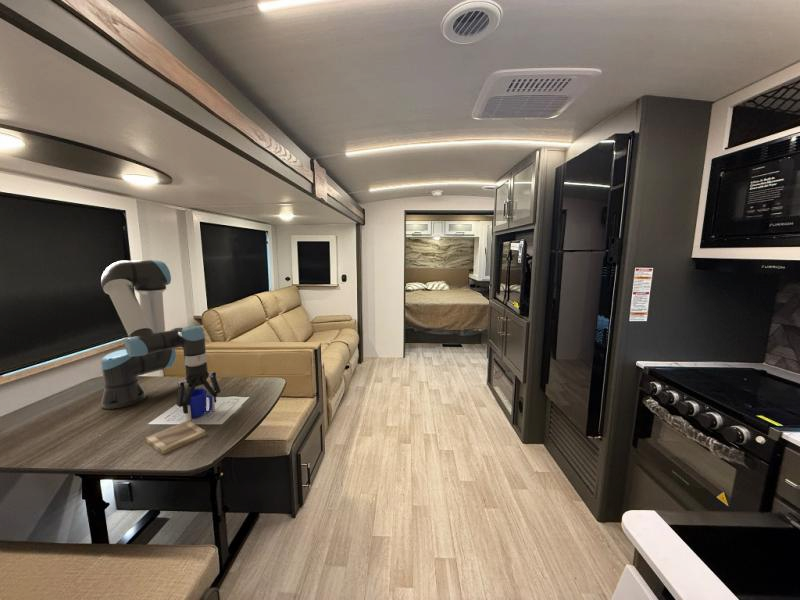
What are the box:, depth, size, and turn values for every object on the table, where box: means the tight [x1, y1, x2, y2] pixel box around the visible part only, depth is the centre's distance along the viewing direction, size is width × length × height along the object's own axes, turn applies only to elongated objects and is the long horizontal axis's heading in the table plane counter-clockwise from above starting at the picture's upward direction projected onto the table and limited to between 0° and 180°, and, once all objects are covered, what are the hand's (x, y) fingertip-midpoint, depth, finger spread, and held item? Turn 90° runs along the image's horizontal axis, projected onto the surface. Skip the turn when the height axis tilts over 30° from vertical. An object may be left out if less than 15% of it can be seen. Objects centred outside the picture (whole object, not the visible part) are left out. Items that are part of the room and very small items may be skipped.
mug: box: [184, 388, 213, 419], centre depth 130 cm, size 8×12×10 cm
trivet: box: [145, 420, 207, 455], centre depth 115 cm, size 14×14×2 cm
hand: (201, 414), depth 131 cm, fingers open, 9 cm apart
